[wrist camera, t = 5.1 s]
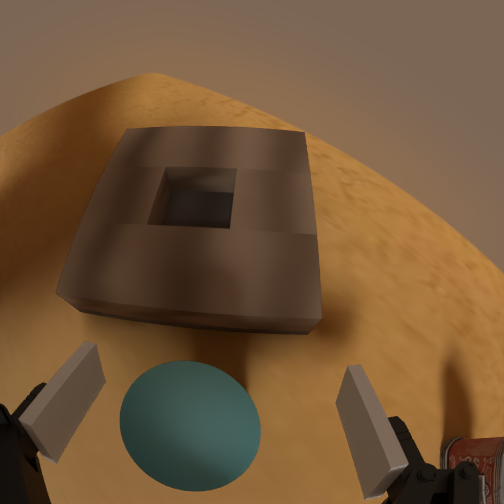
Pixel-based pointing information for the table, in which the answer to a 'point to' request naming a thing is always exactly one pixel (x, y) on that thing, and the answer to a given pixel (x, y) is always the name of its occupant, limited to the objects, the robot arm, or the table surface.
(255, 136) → the hole board
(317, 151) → the table surface
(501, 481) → the lighter
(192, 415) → the pin
